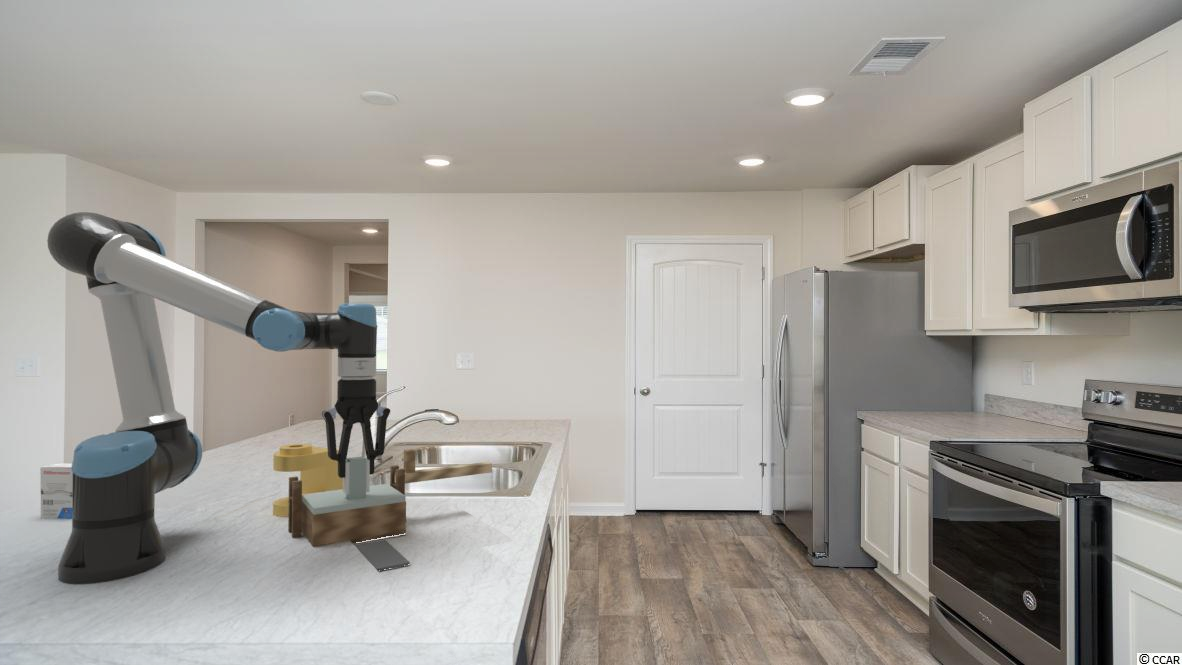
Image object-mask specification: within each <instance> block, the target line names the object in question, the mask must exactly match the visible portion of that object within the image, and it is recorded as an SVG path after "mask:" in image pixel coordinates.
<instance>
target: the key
mask: <svg viewBox="0 0 1182 665" xmlns="http://www.w3.org/2000/svg"><path fill="white" fill-rule="evenodd" d="M403 469H405V484H412V483H420V482H428V481H429V482H430V481H436V480H444V479H451V478H459V477H460V478H461V477H466V476H474V475H483V474H484V475H485V474H490V473H491V474H492V473H493V463H492V462H489V461H483V462H476V463H468V464H467V463H466V464H459V465H458V464H457V465H449V466H442V467H432V468H426V469H416V450H415V449H413V448H409V449H403ZM395 483H396V473H395Z"/></svg>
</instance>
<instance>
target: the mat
mask: <svg viewBox="0 0 1182 665" xmlns="http://www.w3.org/2000/svg"><path fill="white" fill-rule="evenodd" d="M353 545H354V547H355V548H356V549H357V550H358V551H359V552H360V554H362V555H363V557H364V558H365V559H366V561H368V562H369V564H371V565H372V566H373V568H374V569H375V570H376V571H377V572H378V571H379V570H384V569H389V568H395V567H400V566H404V565H408V564H410V561H409V560H408V559H407V558H406V557H405V556H403V555H402V554H401V553H400V552H399V551H398V550H397V549H396V548H395V547H393V545H392V544H391V543H390V542H388V541H387V539H381V540H376V541H370V542H364V543H359V544H353ZM410 565H411V564H410ZM400 568H401V567H400ZM395 569H396V568H395Z"/></svg>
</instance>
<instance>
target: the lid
mask: <svg viewBox="0 0 1182 665" xmlns="http://www.w3.org/2000/svg"><path fill="white" fill-rule="evenodd" d="M366 458H367V457H365V456H363V455H362V456H354V457H347V458H346V460H347V461H349V462H350V494H347V495H346V494H344V493H343V489H342V490H334V491H326V492H318V493H310V494H302V501H303V502H304V504H305V505H306V506H307V507H308V508H309V510H310V511H311V512H312V513H313V514H314V515H316V514H323V513H330V512H337V511H343V510H350V509H357V508H364V507H371V506H378V505H385V504H392V503H399V502H406V503H407V501H406V499H407V498H406V497H407V496H406V494H405V495H404V494H402V493H401V492H399V491H398V490H396V489H395V488H393V487H391V486H390V484H388V483H383V484H376V485H375V484H374V485H369V492H366Z"/></svg>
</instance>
